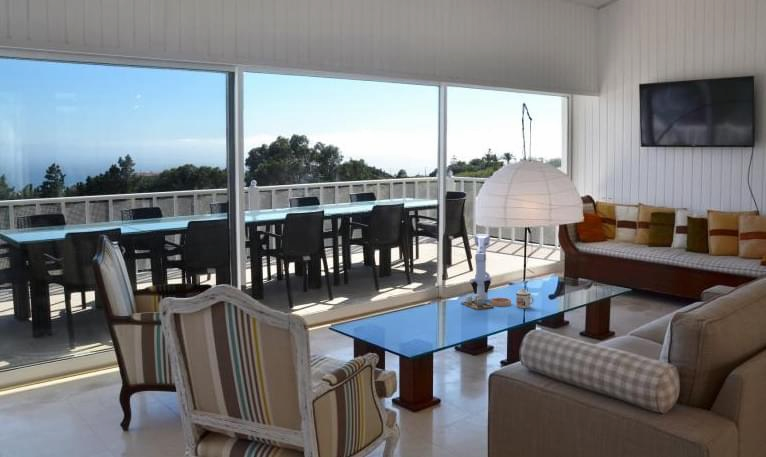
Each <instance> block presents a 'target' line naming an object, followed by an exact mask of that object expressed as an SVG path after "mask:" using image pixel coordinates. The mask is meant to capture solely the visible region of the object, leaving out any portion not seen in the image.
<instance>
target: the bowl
mask: <svg viewBox="0 0 766 457" xmlns="http://www.w3.org/2000/svg"><path fill="white" fill-rule="evenodd" d="M489 304H490V305H492V306H494V307H508V306H511V305H512V299H510V298H507V297H492V298H490V299H489Z"/></svg>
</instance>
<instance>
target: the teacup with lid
mask: <svg viewBox="0 0 766 457" xmlns="http://www.w3.org/2000/svg"><path fill="white" fill-rule="evenodd" d="M515 294H516V297H515V298H516V299H515V305H516V307H517V308H518V309H530V307H531V305H533V304H534V301H535V300H534V297H533V296H531V292H530V291H528V290H526V288H521V290H518V291H517V292H516V293H515Z"/></svg>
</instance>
